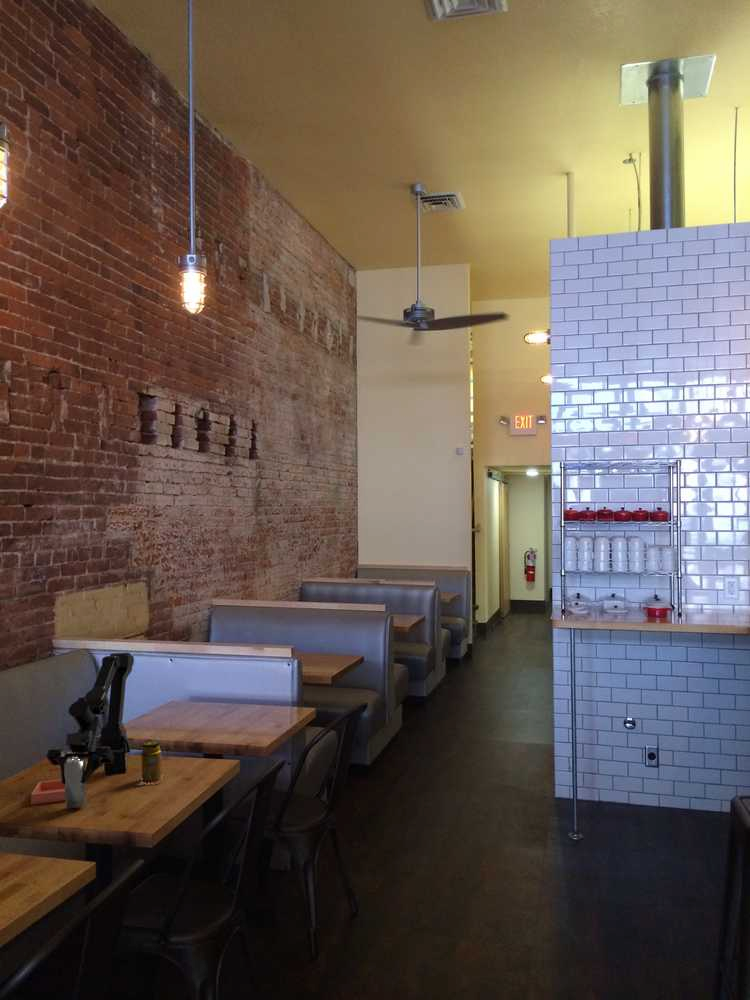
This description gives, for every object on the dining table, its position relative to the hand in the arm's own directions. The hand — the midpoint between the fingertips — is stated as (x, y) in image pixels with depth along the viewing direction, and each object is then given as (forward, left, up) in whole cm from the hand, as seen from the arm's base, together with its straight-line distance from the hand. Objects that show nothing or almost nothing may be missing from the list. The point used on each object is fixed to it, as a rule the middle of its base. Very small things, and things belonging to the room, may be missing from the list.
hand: (73, 783), depth 228 cm
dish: (+8, -15, -8) cm, 18 cm away
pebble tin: (0, -1, -7) cm, 7 cm away
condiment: (-20, -19, -8) cm, 29 cm away
